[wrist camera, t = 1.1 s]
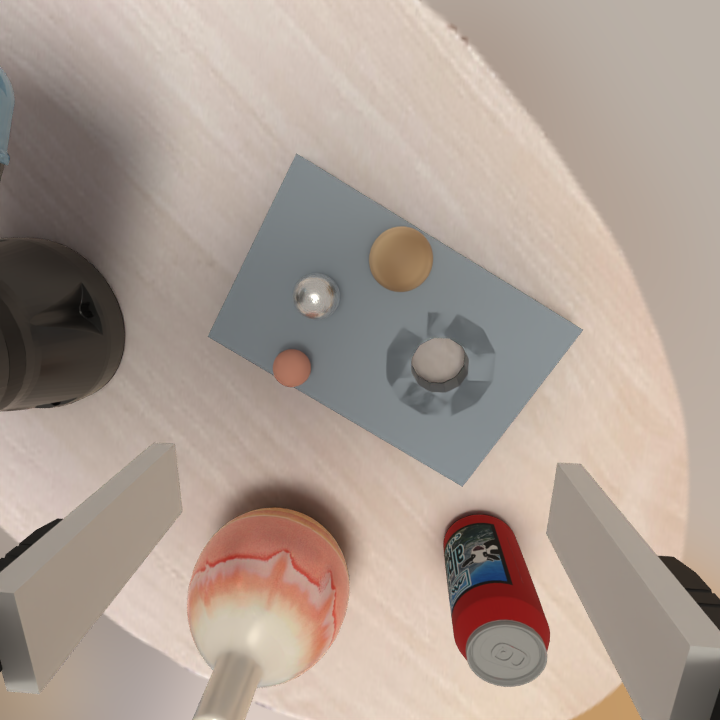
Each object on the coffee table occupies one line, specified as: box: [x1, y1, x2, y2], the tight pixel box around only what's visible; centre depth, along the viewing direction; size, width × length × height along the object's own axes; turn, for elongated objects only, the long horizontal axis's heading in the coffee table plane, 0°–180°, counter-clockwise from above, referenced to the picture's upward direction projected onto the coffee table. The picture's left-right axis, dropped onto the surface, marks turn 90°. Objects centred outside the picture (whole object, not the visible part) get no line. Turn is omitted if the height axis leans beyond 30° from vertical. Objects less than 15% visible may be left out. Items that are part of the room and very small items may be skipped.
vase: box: [187, 507, 349, 720], centre depth 34 cm, size 14×14×18 cm
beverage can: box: [444, 515, 550, 687], centre depth 35 cm, size 7×7×12 cm
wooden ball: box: [369, 226, 433, 292], centre depth 30 cm, size 4×4×4 cm
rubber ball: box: [273, 349, 311, 387], centre depth 34 cm, size 3×3×3 cm
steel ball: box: [293, 273, 340, 320], centre depth 32 cm, size 4×4×4 cm
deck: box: [208, 154, 583, 487], centre depth 35 cm, size 25×16×2 cm, turn 60°
